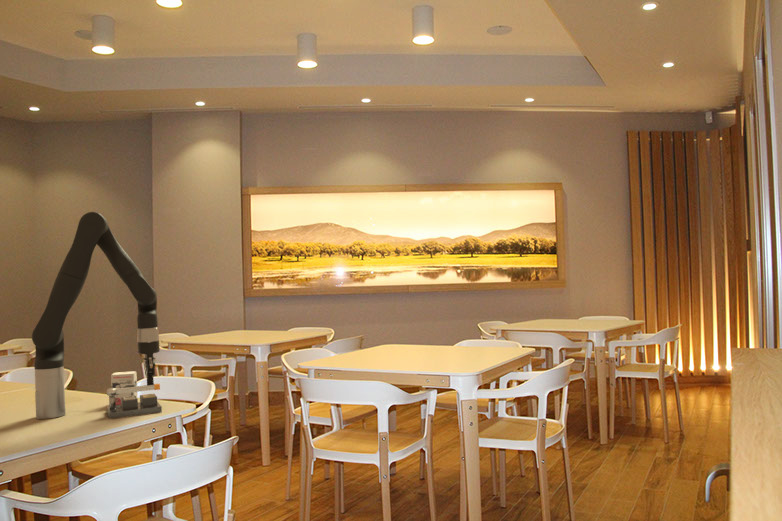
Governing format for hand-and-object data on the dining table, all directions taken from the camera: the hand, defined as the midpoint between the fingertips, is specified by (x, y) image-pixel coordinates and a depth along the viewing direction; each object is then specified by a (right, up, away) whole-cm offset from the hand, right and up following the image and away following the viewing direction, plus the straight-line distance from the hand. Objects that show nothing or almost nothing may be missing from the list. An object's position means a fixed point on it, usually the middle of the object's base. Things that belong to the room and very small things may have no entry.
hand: (150, 386), depth 248 cm
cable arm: (-3, 0, -9) cm, 10 cm away
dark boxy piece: (-2, -7, -9) cm, 12 cm away
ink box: (-13, -8, +8) cm, 17 cm away
